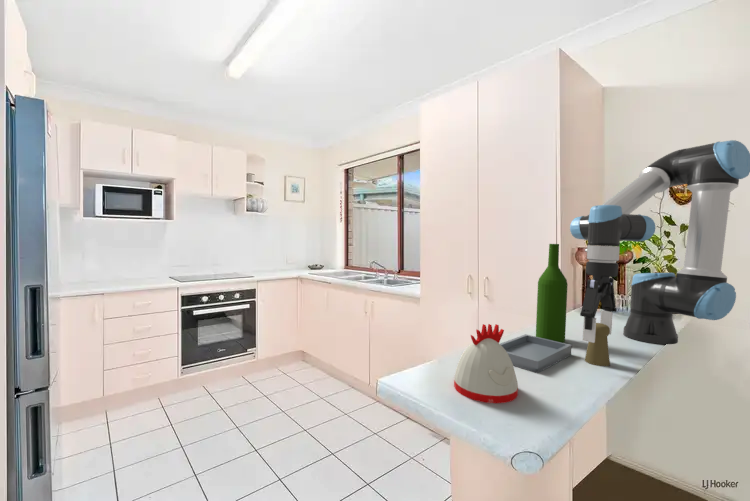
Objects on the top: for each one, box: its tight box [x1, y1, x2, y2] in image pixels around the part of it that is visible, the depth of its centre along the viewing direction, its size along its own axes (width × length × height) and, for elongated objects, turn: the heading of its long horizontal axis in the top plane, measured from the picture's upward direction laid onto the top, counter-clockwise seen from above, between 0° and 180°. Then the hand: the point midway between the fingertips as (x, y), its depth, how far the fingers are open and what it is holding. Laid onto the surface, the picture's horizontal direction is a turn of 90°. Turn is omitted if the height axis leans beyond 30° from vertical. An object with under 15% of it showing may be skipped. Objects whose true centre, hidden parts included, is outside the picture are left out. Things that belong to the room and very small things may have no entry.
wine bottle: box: [535, 243, 568, 343], centre depth 120 cm, size 9×9×32 cm
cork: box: [584, 322, 611, 367], centre depth 100 cm, size 6×6×11 cm
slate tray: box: [499, 334, 573, 374], centre depth 104 cm, size 22×14×3 cm, turn 131°
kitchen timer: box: [453, 323, 519, 404], centre depth 81 cm, size 14×14×15 cm
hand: (597, 337), depth 100 cm, fingers open, 13 cm apart
